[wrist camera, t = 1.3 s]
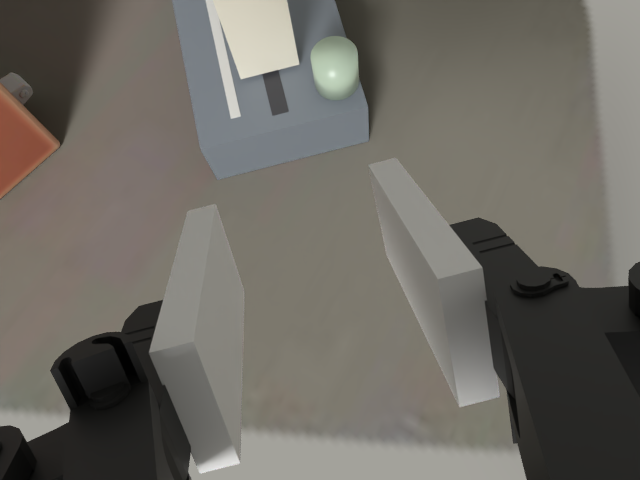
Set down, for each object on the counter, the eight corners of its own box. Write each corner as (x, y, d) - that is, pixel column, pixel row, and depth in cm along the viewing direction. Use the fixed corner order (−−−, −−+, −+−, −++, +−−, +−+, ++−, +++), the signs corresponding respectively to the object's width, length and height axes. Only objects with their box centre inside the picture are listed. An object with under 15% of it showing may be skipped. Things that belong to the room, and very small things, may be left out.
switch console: (368, 141, 39) (368, 99, 34) (217, 179, 39) (196, 142, 34) (306, -64, 45) (298, -122, 41) (176, -31, 45) (153, -86, 41)
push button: (364, 93, 35) (363, 68, 33) (320, 105, 35) (316, 80, 33) (352, 57, 36) (351, 31, 34) (310, 68, 36) (305, 42, 34)
